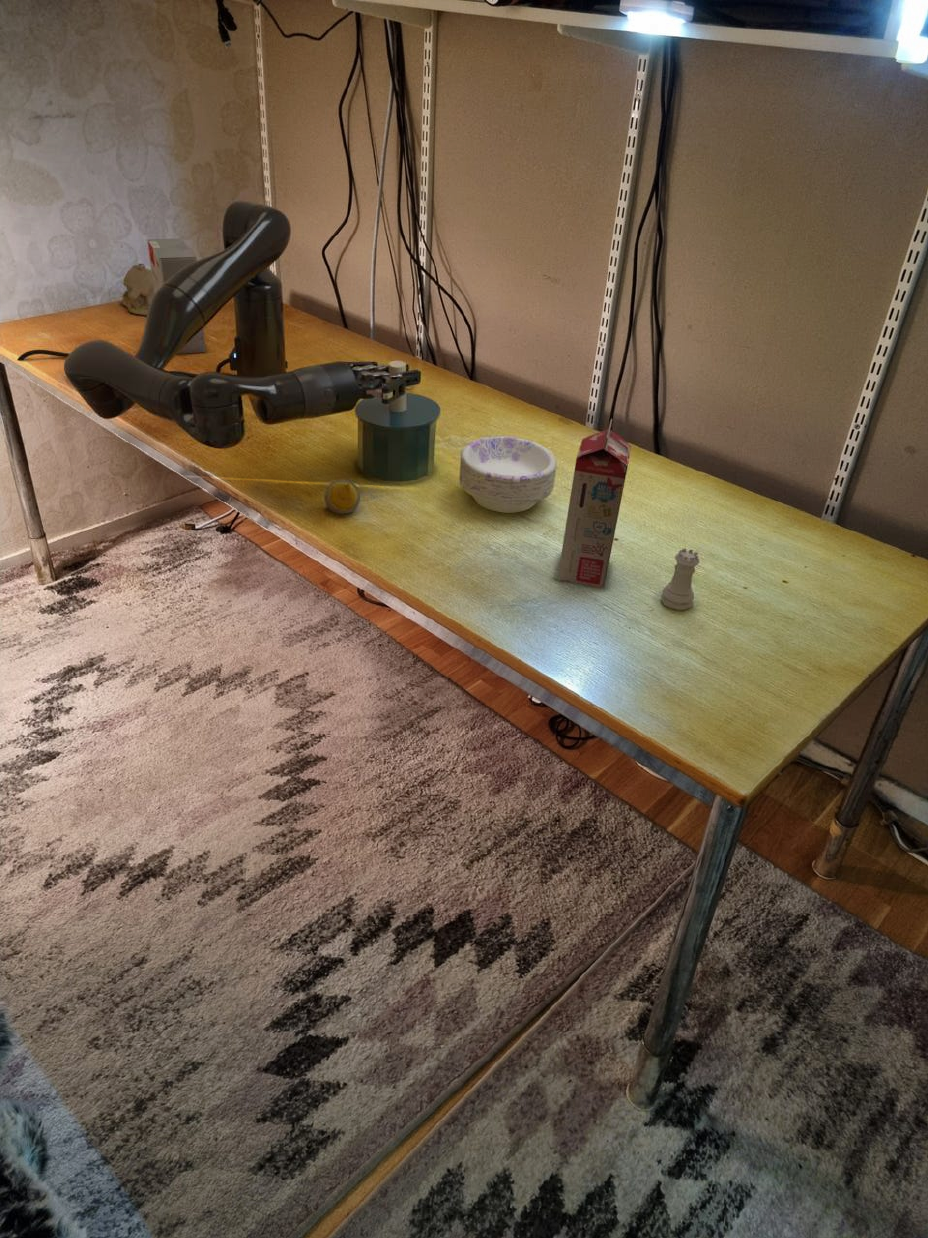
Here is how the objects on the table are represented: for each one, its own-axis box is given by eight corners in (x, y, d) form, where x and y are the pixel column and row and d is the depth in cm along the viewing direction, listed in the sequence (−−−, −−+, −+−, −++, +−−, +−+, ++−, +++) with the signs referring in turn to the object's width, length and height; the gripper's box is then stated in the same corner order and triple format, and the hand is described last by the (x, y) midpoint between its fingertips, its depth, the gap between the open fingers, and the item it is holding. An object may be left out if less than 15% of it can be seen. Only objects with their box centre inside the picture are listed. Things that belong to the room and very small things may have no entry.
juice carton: (608, 564, 127) (636, 422, 115) (603, 587, 122) (632, 441, 109) (563, 556, 128) (586, 414, 116) (557, 579, 123) (580, 433, 110)
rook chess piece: (656, 593, 122) (668, 544, 117) (686, 593, 122) (699, 544, 118) (664, 611, 118) (677, 561, 114) (696, 612, 119) (710, 562, 114)
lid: (350, 432, 138) (347, 378, 132) (360, 397, 149) (358, 346, 144) (438, 435, 138) (439, 382, 133) (442, 400, 149) (442, 349, 144)
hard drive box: (158, 332, 196) (146, 238, 185) (193, 330, 199) (183, 237, 187) (170, 355, 185) (158, 256, 173) (207, 352, 188) (197, 255, 176)
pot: (355, 482, 143) (355, 427, 138) (360, 449, 153) (360, 397, 148) (433, 486, 144) (436, 432, 138) (433, 453, 154) (436, 402, 149)
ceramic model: (183, 310, 210) (178, 267, 204) (140, 318, 203) (134, 273, 197) (151, 296, 218) (146, 254, 212) (109, 303, 211) (103, 260, 205)
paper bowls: (491, 530, 133) (496, 483, 128) (440, 488, 143) (443, 444, 139) (569, 511, 140) (577, 466, 136) (515, 472, 150) (521, 429, 146)
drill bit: (363, 504, 138) (374, 486, 128) (338, 526, 136) (347, 509, 127) (340, 479, 137) (349, 459, 128) (315, 500, 136) (322, 481, 126)
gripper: (298, 398, 138) (389, 381, 147) (344, 430, 130) (437, 409, 139) (296, 352, 134) (390, 337, 143) (344, 381, 125) (440, 363, 134)
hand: (413, 373), depth 141 cm, fingers closed on lid, 3 cm apart
